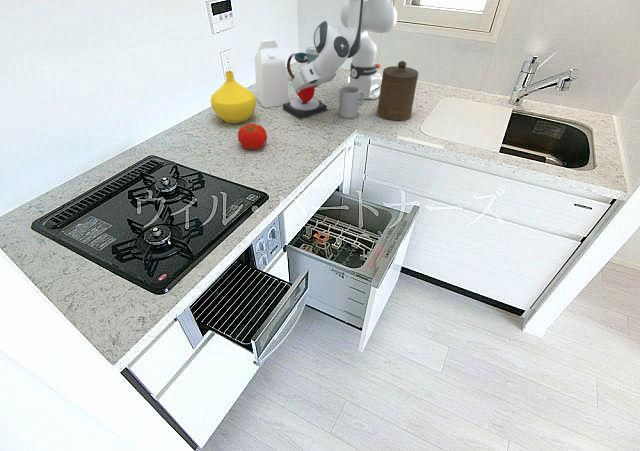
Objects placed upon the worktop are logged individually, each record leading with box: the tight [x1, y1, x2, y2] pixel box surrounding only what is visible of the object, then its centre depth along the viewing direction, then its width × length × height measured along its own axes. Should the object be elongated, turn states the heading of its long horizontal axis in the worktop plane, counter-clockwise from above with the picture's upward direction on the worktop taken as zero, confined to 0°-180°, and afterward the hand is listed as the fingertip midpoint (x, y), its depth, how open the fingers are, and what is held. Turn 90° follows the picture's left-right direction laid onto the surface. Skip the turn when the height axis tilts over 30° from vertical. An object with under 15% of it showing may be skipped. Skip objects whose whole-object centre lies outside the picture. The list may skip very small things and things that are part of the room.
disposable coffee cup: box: [305, 46, 319, 65], centre depth 181 cm, size 11×11×15 cm
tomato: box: [237, 122, 268, 150], centre depth 125 cm, size 11×11×8 cm
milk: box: [254, 39, 290, 109], centre depth 151 cm, size 12×12×26 cm
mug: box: [338, 85, 365, 119], centre depth 148 cm, size 12×8×11 cm
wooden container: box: [377, 60, 419, 121], centre depth 145 cm, size 15×15×22 cm
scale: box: [282, 97, 328, 120], centre depth 152 cm, size 15×13×3 cm
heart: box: [295, 86, 316, 103], centre depth 148 cm, size 12×5×10 cm, turn 39°
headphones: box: [286, 52, 309, 80], centre depth 173 cm, size 6×15×22 cm
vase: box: [210, 70, 257, 124], centre depth 139 cm, size 18×18×19 cm
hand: (306, 88), depth 146 cm, fingers open, 8 cm apart
